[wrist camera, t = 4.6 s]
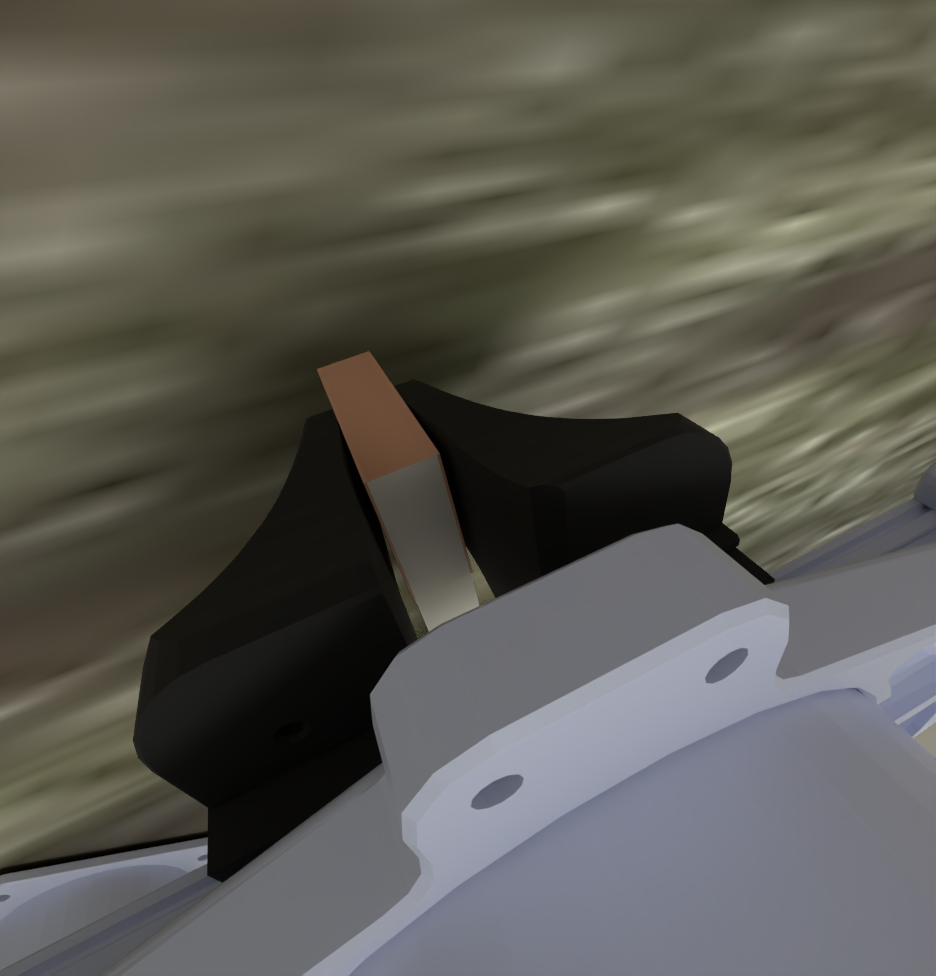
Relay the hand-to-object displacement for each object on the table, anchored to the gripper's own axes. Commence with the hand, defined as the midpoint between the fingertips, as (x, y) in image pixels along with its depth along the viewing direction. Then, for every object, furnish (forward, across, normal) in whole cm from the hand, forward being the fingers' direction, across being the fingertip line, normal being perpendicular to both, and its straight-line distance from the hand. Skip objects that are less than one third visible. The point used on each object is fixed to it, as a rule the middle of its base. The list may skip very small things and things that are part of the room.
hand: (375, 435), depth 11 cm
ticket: (+1, 0, +8) cm, 8 cm away
